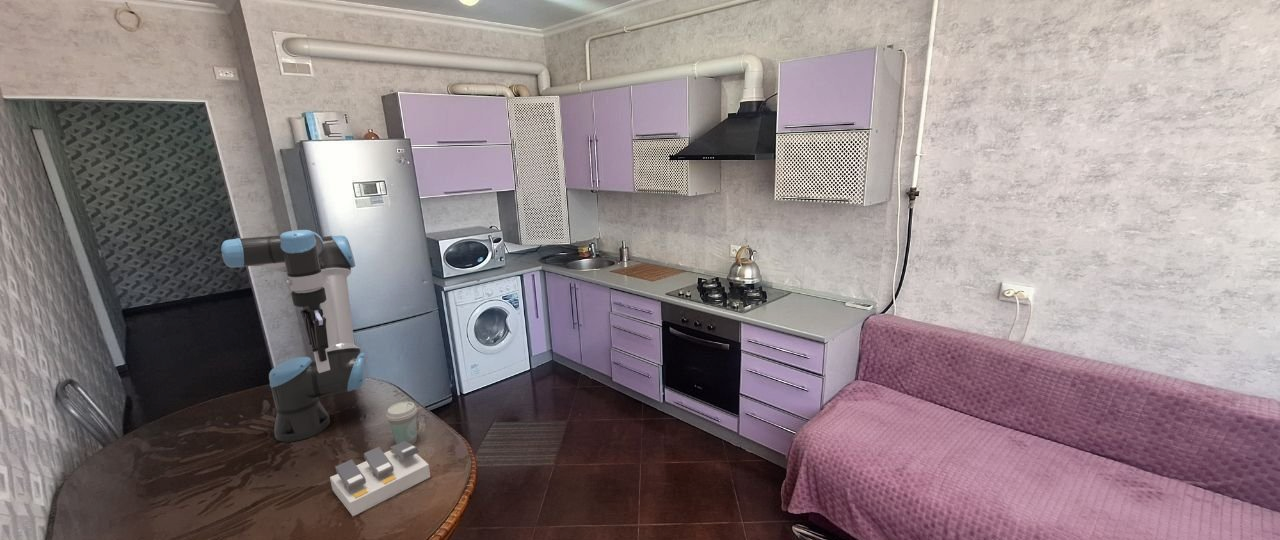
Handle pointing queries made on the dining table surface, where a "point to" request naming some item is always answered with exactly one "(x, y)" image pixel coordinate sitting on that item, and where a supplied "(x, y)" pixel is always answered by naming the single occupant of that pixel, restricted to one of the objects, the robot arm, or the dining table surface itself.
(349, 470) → the switch
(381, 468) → the switch
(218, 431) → the dining table surface
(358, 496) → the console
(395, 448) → the switch
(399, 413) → the coffee cup
